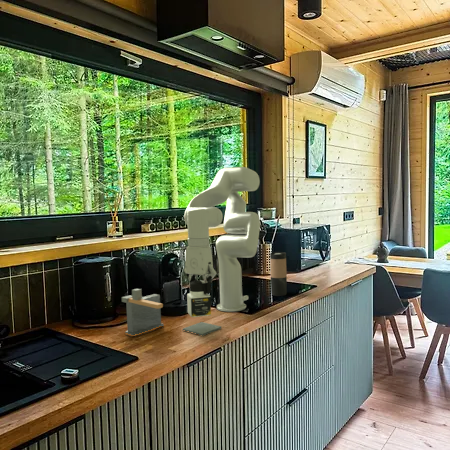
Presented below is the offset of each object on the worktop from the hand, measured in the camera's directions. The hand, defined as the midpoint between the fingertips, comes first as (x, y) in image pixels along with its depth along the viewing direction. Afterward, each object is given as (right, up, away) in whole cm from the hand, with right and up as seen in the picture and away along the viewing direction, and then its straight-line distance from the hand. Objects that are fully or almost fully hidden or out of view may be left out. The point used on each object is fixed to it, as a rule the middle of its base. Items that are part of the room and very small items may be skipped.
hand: (200, 291), depth 154 cm
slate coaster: (+1, -14, +1) cm, 14 cm away
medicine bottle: (0, -8, 0) cm, 8 cm away
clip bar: (-19, -3, -9) cm, 21 cm away
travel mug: (+35, -9, +51) cm, 63 cm away
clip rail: (-20, -15, +2) cm, 25 cm away
